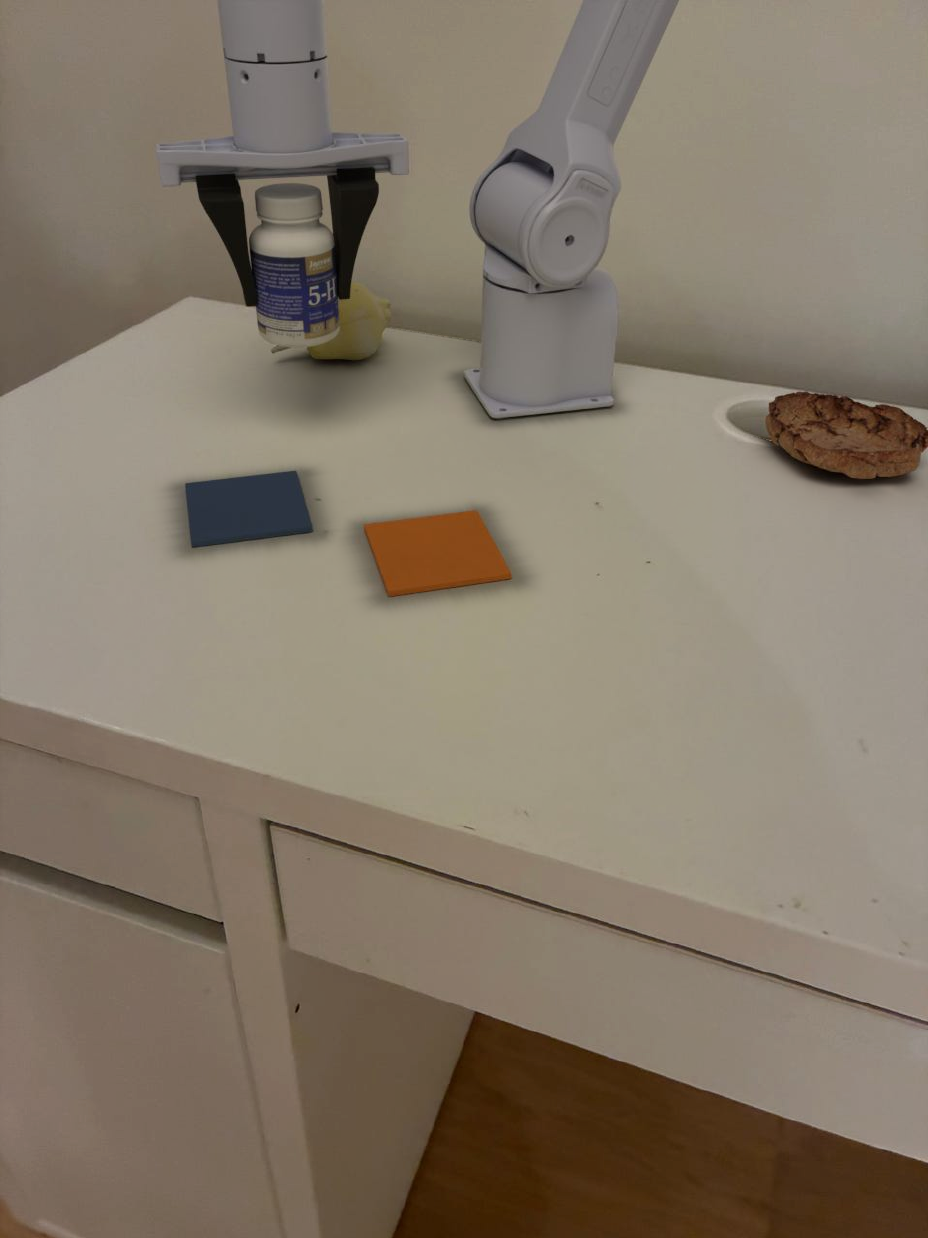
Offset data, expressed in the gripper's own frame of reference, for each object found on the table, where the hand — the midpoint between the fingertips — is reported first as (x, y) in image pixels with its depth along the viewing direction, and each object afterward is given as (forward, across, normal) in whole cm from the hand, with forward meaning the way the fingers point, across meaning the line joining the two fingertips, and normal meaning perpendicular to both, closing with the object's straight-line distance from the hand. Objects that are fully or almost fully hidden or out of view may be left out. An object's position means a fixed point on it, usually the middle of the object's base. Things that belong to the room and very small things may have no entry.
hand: (297, 297), depth 63 cm
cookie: (+6, -34, +12) cm, 37 cm away
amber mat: (+9, -5, +17) cm, 20 cm away
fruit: (+10, -4, -12) cm, 16 cm away
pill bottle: (+3, 0, 0) cm, 3 cm away
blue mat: (+9, +5, +10) cm, 14 cm away
